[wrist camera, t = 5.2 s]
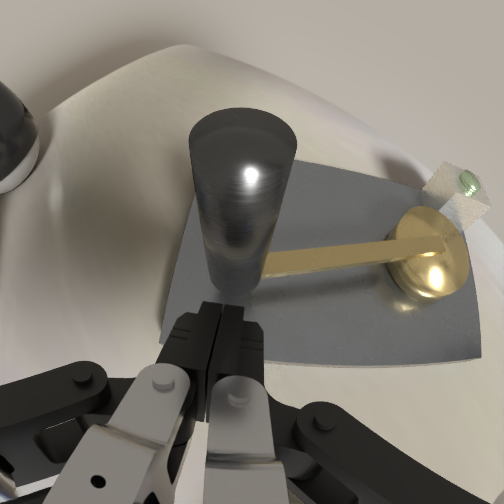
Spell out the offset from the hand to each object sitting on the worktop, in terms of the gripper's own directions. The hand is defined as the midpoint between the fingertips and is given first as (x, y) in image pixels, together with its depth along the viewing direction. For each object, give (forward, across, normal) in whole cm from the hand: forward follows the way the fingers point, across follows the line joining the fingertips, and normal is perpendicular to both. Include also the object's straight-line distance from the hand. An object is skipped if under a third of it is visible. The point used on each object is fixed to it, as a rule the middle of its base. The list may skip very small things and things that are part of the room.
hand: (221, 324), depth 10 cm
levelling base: (+11, -9, +1) cm, 14 cm away
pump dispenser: (+16, +28, -4) cm, 33 cm away
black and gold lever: (+8, -8, 0) cm, 12 cm away
